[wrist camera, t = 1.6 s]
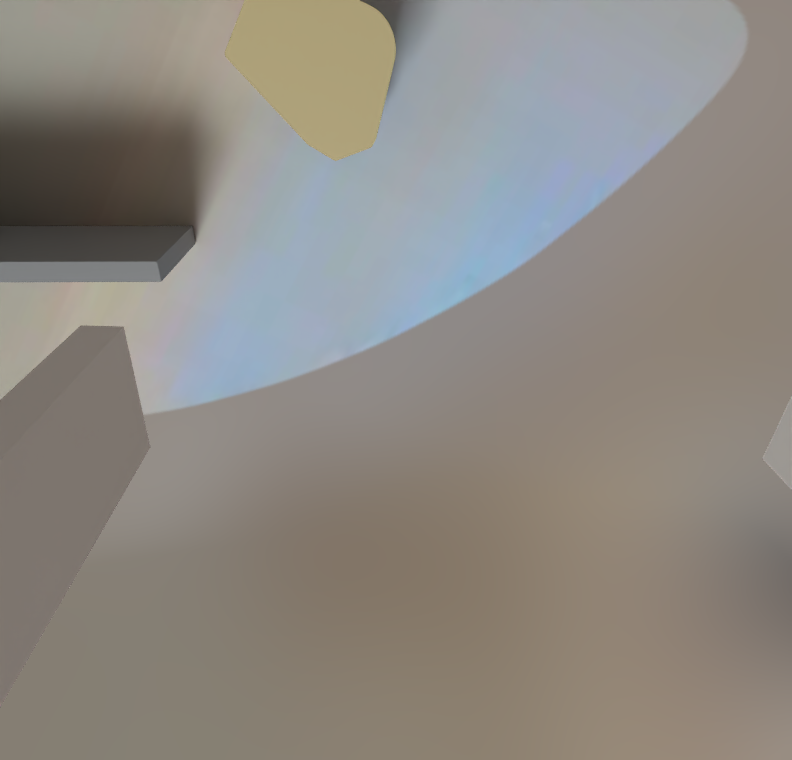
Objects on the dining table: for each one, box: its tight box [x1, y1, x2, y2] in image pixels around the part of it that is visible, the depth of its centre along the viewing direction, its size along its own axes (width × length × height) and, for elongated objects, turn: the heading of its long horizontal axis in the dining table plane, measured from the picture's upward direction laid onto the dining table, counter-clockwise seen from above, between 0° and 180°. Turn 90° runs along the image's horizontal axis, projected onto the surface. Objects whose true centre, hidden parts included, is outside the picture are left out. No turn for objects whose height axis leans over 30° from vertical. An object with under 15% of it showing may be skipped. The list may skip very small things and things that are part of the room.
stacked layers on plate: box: [225, 0, 396, 161], centre depth 26 cm, size 10×9×6 cm
